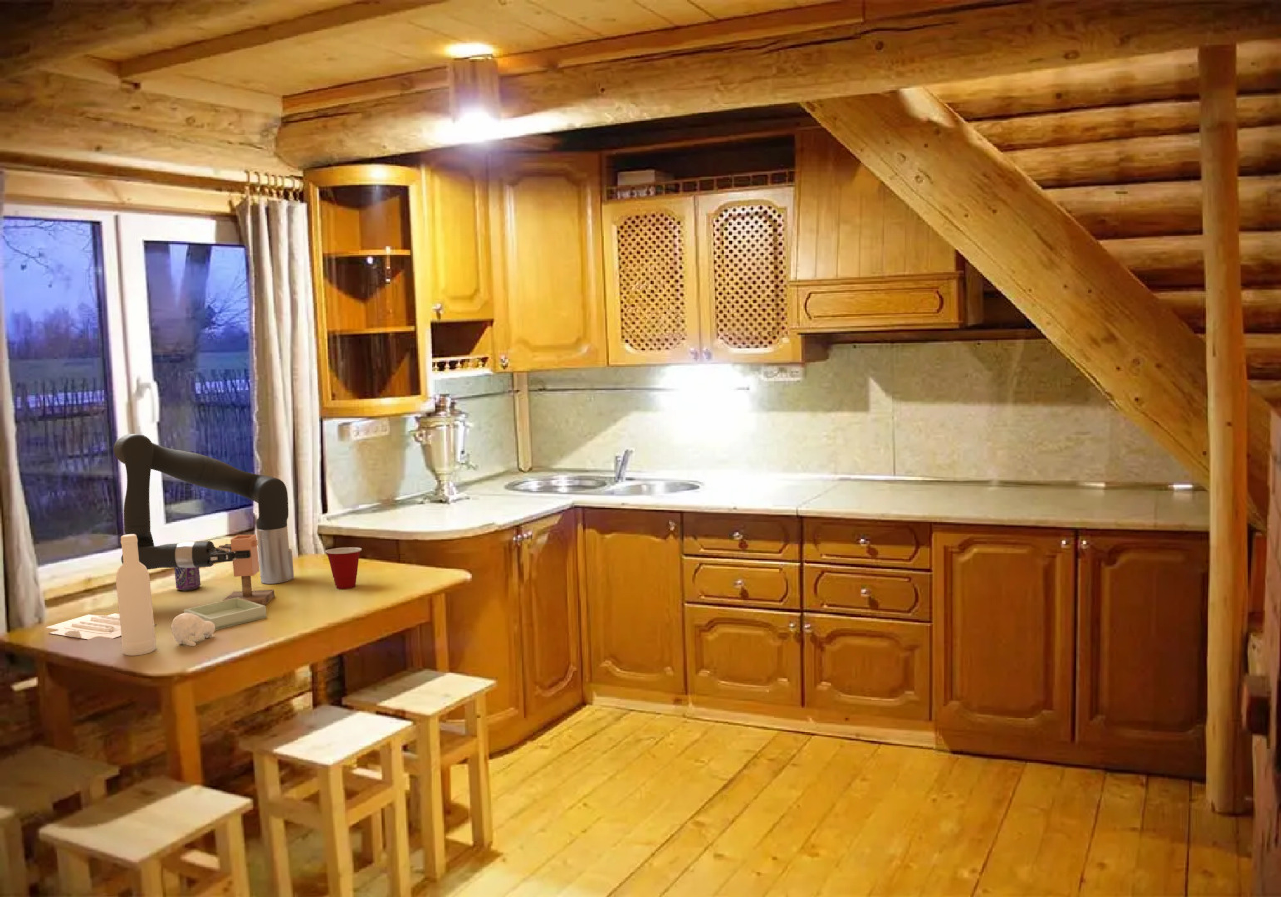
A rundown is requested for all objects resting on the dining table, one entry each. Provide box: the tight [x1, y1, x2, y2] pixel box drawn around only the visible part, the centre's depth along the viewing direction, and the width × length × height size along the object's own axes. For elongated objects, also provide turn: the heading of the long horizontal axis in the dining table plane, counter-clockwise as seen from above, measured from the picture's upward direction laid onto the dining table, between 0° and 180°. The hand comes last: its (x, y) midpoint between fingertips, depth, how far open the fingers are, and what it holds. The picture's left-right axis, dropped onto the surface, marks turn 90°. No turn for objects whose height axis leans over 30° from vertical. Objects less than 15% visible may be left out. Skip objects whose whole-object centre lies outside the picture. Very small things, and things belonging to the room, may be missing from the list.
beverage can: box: [173, 567, 202, 592], centre depth 349 cm, size 7×7×12 cm
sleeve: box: [230, 534, 260, 578], centre depth 329 cm, size 6×6×11 cm
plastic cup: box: [324, 546, 362, 590], centre depth 344 cm, size 11×11×12 cm
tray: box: [183, 597, 267, 631], centre depth 312 cm, size 16×16×3 cm
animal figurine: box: [170, 612, 216, 647], centre depth 292 cm, size 6×8×12 cm
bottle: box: [115, 534, 157, 657], centre depth 284 cm, size 8×8×30 cm
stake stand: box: [221, 576, 276, 606], centre depth 330 cm, size 12×12×8 cm
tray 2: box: [45, 612, 157, 640], centre depth 310 cm, size 20×28×4 cm
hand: (253, 551), depth 328 cm, fingers closed on sleeve, 5 cm apart
